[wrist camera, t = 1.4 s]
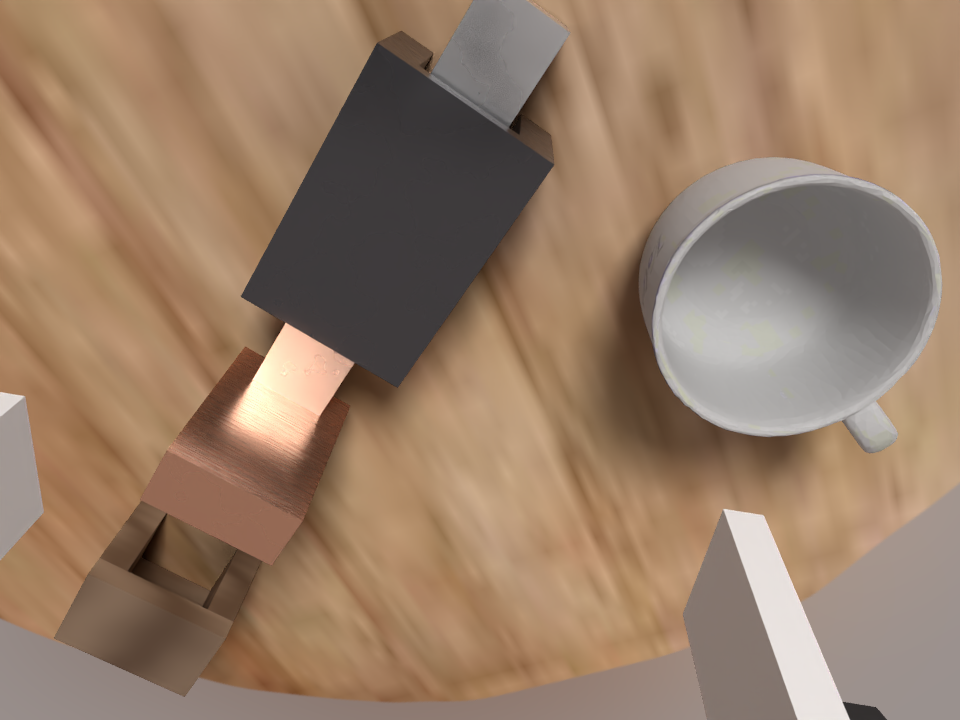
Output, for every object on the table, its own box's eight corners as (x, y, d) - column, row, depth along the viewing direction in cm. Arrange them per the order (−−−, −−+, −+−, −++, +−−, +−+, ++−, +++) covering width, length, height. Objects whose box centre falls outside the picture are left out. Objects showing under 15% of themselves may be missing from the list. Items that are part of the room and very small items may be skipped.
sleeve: (280, 252, 37) (240, 296, 32) (401, 30, 32) (377, 42, 27) (414, 333, 38) (397, 387, 33) (551, 135, 33) (554, 164, 28)
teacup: (591, 204, 35) (606, 265, 28) (823, 87, 32) (907, 121, 25) (701, 428, 40) (738, 527, 33) (909, 346, 37) (998, 435, 30)
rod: (199, 431, 42) (103, 566, 32) (469, -46, 30) (440, -52, 20) (295, 482, 43) (228, 626, 34) (589, 43, 31) (614, 76, 22)
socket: (109, 560, 47) (53, 638, 42) (142, 499, 45) (88, 574, 39) (223, 615, 49) (184, 696, 43) (261, 559, 46) (225, 638, 41)
